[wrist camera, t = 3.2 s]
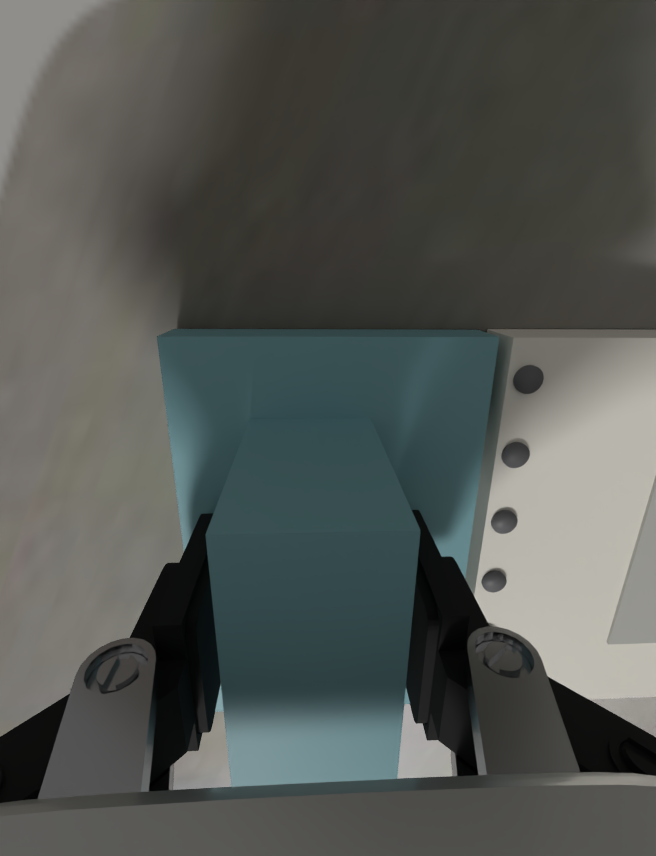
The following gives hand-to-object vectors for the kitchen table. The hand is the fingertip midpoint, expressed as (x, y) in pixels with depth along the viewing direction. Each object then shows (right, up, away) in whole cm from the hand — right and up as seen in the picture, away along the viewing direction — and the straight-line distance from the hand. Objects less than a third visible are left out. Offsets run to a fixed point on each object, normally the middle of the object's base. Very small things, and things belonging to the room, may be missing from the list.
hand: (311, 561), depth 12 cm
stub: (0, +1, +2) cm, 2 cm away
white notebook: (+12, +1, +2) cm, 12 cm away
